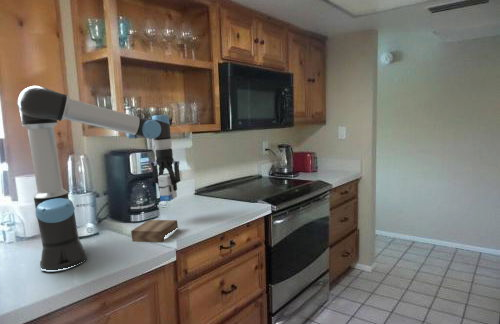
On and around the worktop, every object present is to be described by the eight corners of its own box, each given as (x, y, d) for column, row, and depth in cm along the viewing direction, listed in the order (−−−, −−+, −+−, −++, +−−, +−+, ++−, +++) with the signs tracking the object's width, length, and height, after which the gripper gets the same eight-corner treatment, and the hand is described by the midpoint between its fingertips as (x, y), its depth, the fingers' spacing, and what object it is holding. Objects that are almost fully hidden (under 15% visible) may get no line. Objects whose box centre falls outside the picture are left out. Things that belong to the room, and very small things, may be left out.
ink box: (169, 201, 155) (167, 176, 154) (159, 201, 156) (157, 176, 155) (177, 196, 163) (175, 172, 162) (167, 196, 164) (165, 173, 163)
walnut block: (132, 242, 142) (131, 230, 141) (150, 230, 155) (149, 219, 154) (162, 243, 138) (160, 231, 137) (178, 231, 151) (177, 220, 151)
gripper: (185, 146, 158) (189, 195, 161) (150, 148, 162) (155, 195, 165) (178, 148, 151) (183, 199, 154) (141, 150, 155) (147, 199, 158)
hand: (168, 197), depth 160 cm, fingers closed on ink box, 5 cm apart
